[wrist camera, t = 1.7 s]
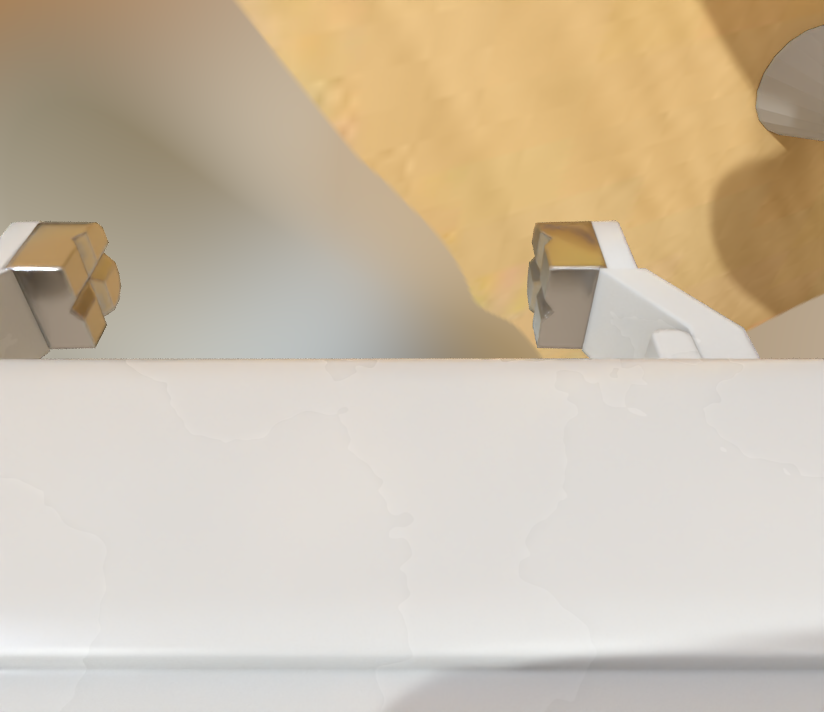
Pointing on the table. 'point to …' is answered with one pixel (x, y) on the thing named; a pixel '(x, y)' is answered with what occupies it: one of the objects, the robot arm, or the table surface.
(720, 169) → the table surface
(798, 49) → the lava lamp
